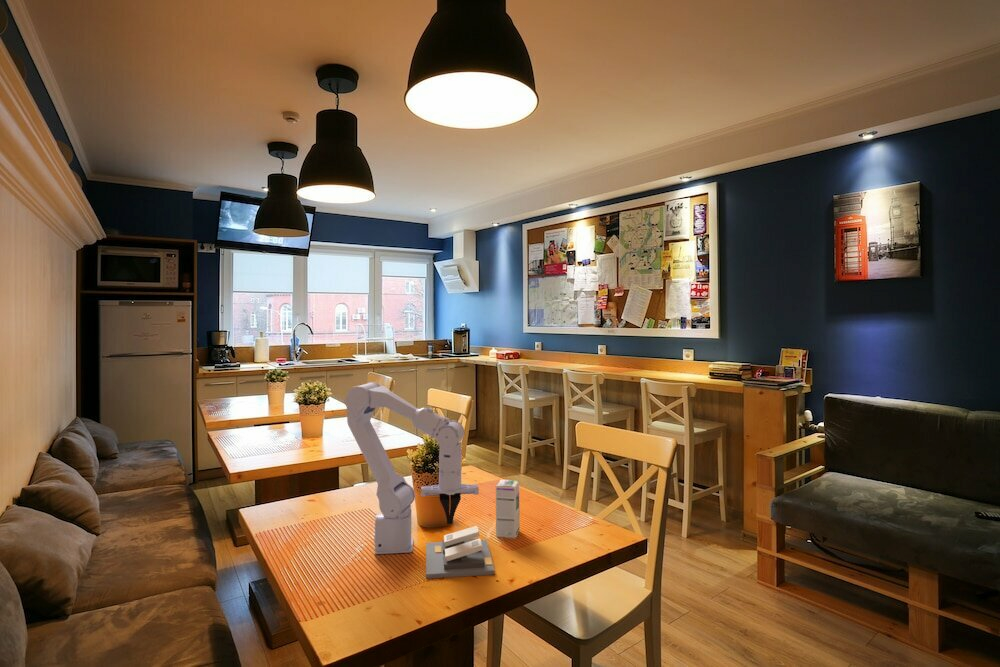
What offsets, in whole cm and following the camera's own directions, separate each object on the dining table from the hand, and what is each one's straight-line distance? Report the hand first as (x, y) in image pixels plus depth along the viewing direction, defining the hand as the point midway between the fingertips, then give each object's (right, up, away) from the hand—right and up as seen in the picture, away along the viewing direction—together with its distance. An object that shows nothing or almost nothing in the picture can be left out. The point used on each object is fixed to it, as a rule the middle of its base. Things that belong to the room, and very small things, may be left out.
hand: (449, 522), depth 135 cm
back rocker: (+3, -4, +1) cm, 5 cm away
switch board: (+3, -8, -3) cm, 9 cm away
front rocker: (+4, -4, -7) cm, 9 cm away
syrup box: (+15, -8, +12) cm, 21 cm away
